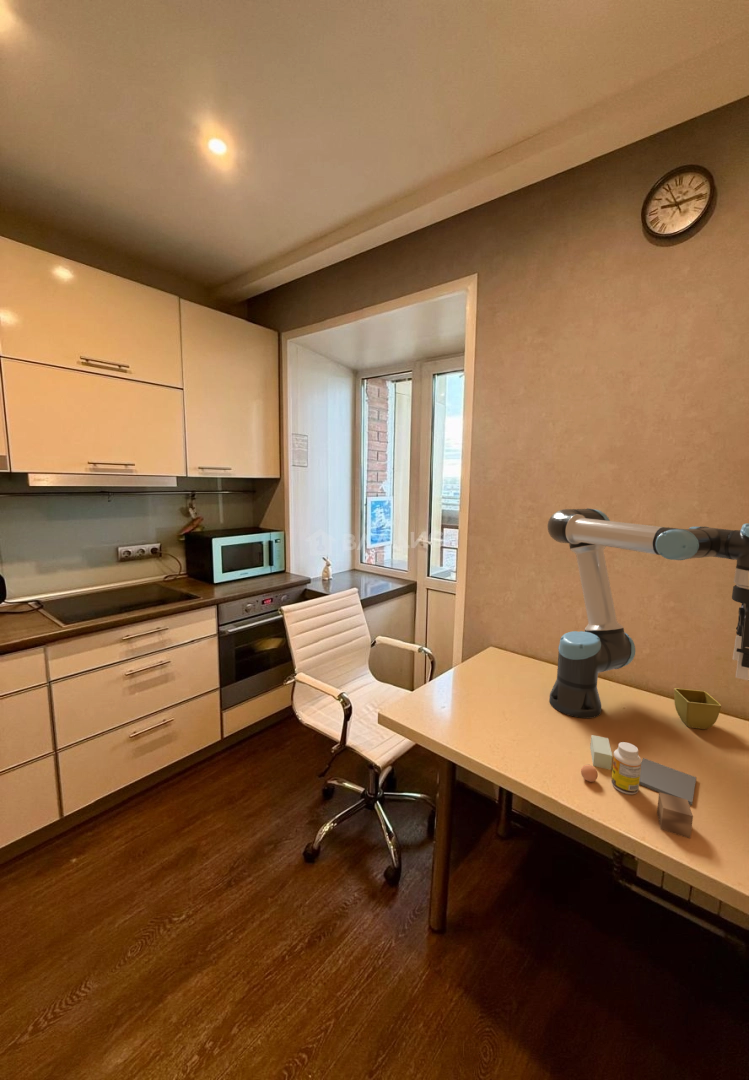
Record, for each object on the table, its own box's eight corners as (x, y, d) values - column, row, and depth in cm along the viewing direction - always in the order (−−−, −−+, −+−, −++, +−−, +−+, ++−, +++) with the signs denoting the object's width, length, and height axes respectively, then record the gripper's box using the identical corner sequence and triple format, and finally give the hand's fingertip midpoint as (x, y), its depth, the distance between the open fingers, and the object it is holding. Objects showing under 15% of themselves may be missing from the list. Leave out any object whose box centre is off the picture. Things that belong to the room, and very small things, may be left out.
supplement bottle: (613, 776, 103) (617, 736, 102) (640, 786, 99) (644, 746, 98) (608, 788, 99) (612, 747, 97) (636, 799, 95) (640, 757, 94)
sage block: (593, 766, 107) (594, 751, 106) (590, 748, 114) (591, 734, 114) (610, 770, 105) (612, 755, 105) (606, 752, 113) (608, 738, 112)
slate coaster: (634, 782, 101) (634, 779, 101) (642, 760, 109) (643, 757, 109) (691, 805, 94) (692, 802, 93) (695, 780, 102) (696, 777, 102)
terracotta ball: (578, 780, 101) (579, 766, 101) (582, 772, 104) (583, 759, 103) (594, 787, 99) (596, 773, 98) (598, 779, 102) (600, 765, 101)
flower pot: (718, 734, 121) (722, 705, 120) (684, 730, 123) (688, 701, 122) (702, 718, 130) (705, 690, 129) (670, 715, 132) (673, 687, 130)
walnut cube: (660, 829, 87) (663, 807, 86) (656, 813, 91) (659, 792, 91) (690, 838, 85) (693, 816, 84) (684, 821, 89) (687, 799, 89)
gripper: (781, 600, 91) (766, 692, 94) (768, 580, 111) (756, 657, 113) (736, 594, 96) (723, 682, 98) (731, 576, 115) (720, 650, 118)
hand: (741, 669), depth 106 cm, fingers open, 13 cm apart
